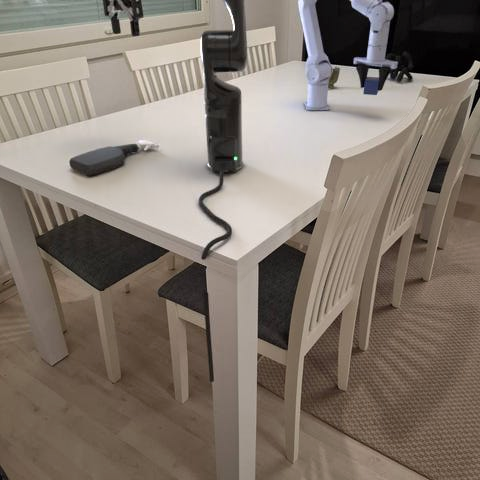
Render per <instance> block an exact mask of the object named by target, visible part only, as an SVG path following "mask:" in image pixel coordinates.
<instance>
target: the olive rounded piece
mask: <svg viewBox="0 0 480 480" xmlns="http://www.w3.org/2000/svg"><path fill="white" fill-rule="evenodd" d="M332 68H333V67H332ZM340 71H341V68H340V67H338V66H335V67H334V68H333V73H332V75H331V77H330V78H329V83H328V89H333V88H334V87H335V85H336V83H337V82H338V81H339V76H340Z"/></svg>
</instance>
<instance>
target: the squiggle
mask: <svg viewBox="0 0 480 480" xmlns="http://www.w3.org/2000/svg"><path fill="white" fill-rule="evenodd" d="M401 57H402V59H401ZM391 59H392V60H393V61H395V62H398V64H397V68H396V69H392V71H391V72H390V74H389V78H390V79H391V80H395V79H396V81H397V82H399V83H400V82H402V81H403V79H404V76H406V78H407V80H408V81H412V80H413V79H414V77H413V75H412V74H411V73H410V72H409V71H410V70H412V69H413V68H414V64H413V61H412V57H411V54H410V53H409V52H408V51H403V53H402V54H401V55H396V54H394V53H392V52H390V53H387V55H386V56H385V60H390V61H392V60H391ZM406 62H407V65H408V66H407V67H405V66H404V65H405V64H406ZM400 70H401V71H400Z"/></svg>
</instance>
